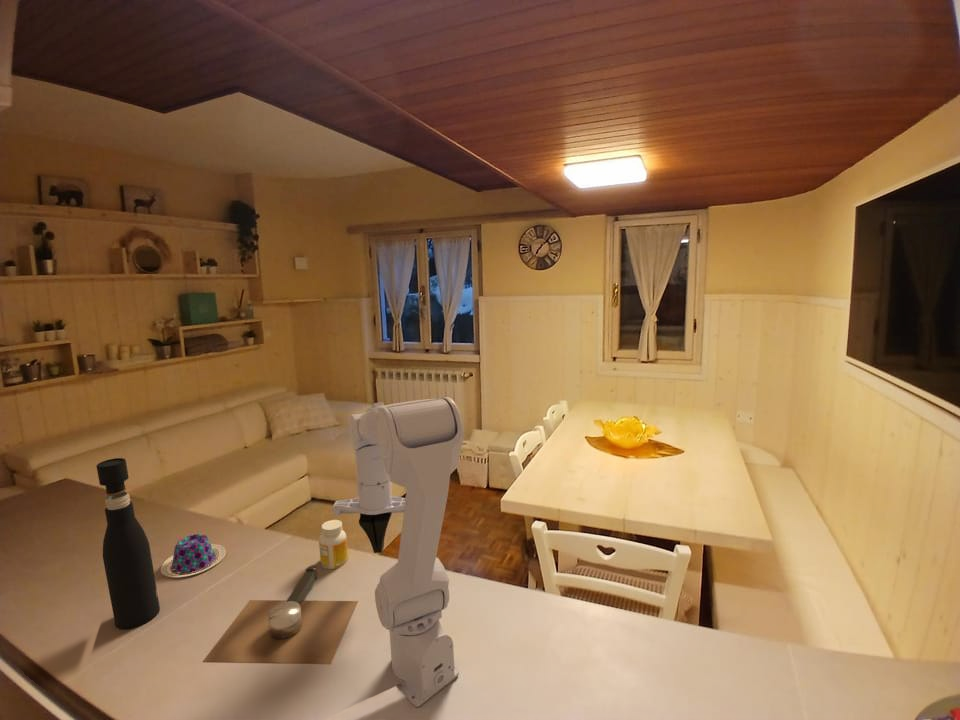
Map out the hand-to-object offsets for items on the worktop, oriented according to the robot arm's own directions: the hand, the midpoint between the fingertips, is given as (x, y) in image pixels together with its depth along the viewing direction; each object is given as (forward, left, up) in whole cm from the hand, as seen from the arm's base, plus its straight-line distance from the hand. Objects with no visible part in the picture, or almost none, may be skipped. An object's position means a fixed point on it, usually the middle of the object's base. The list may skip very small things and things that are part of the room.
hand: (378, 549), depth 86 cm
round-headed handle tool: (+7, +12, -9) cm, 17 cm away
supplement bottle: (+16, +1, -11) cm, 19 cm away
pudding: (+40, +21, -11) cm, 46 cm away
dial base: (+4, +16, -10) cm, 19 cm away
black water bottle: (+26, +33, -11) cm, 43 cm away
